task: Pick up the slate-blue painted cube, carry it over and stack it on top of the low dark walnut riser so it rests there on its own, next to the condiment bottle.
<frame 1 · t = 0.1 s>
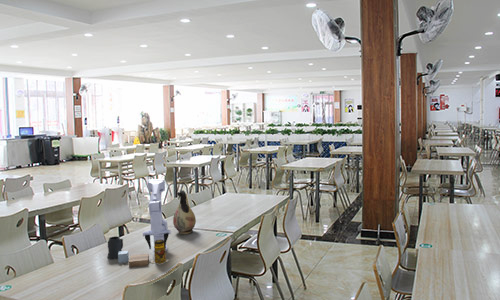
hand: (157, 247, 221), 10 cm above the table, tool pointing down, fingers open, 7 cm apart
walnut riser: (139, 262, 227), on the table
blue cube: (123, 261, 232), on the table
ceramic jug: (185, 232, 282), on the table
condiment: (159, 261, 229), on the table
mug: (116, 256, 241), on the table
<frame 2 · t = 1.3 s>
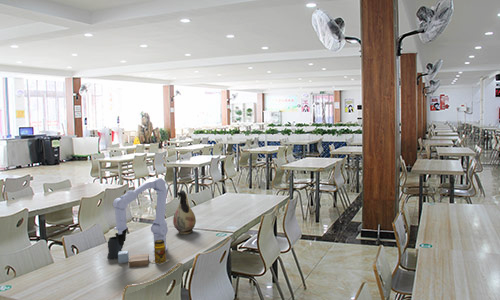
hand: (122, 243, 231), 10 cm above the table, tool pointing down, fingers open, 7 cm apart
nothing on the table moved.
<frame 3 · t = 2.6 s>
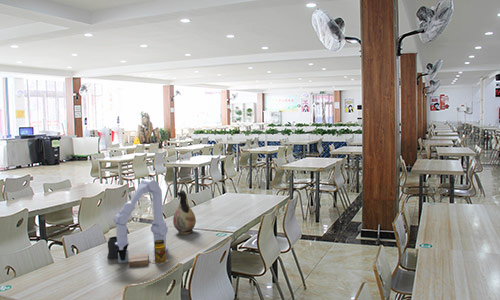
hand: (123, 258, 232), 1 cm above the table, tool pointing down, fingers closed on blue cube, 5 cm apart
blue cube: (123, 260, 232), on the table, touching gripper
everything else where it was.
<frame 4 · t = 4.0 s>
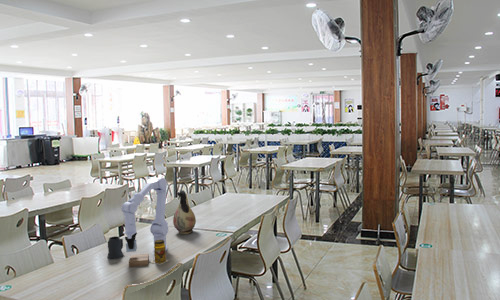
hand: (131, 247, 228), 8 cm above the table, tool pointing down, fingers closed on blue cube, 5 cm apart
blue cube: (131, 250, 229), point 7 cm above the table, touching gripper
everything else where it was.
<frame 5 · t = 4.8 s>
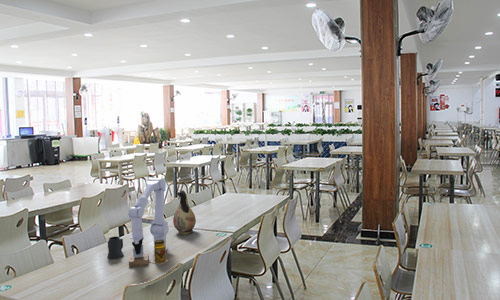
hand: (138, 252, 227), 6 cm above the table, tool pointing down, fingers closed on blue cube, 5 cm apart
blue cube: (138, 255, 227), point 4 cm above the table, touching gripper
everything else where it was.
when the fingers open (6 cm above the table, at t = 5.2 s): blue cube drops 1 cm, resting on walnut riser.
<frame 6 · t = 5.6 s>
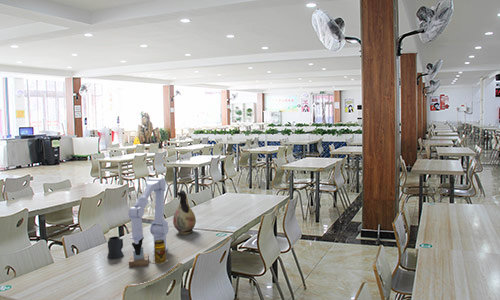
hand: (138, 252, 227), 6 cm above the table, tool pointing down, fingers open, 7 cm apart
blue cube: (138, 257, 227), point 3 cm above the table, touching walnut riser
everything else where it was.
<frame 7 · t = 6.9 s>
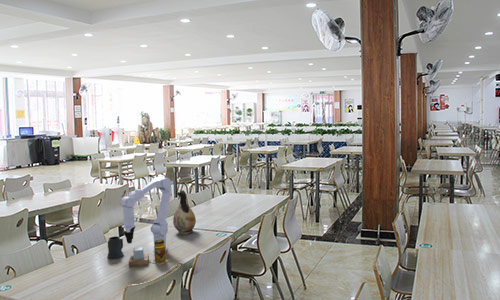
hand: (130, 241, 233), 10 cm above the table, tool pointing down, fingers open, 7 cm apart
nothing on the table moved.
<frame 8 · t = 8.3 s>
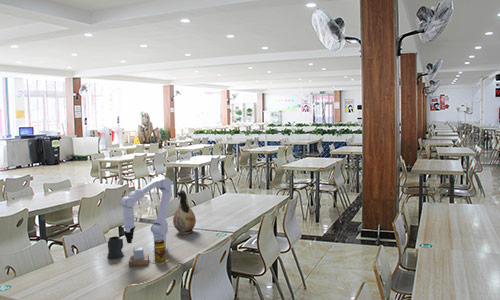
hand: (130, 241, 233), 10 cm above the table, tool pointing down, fingers open, 7 cm apart
nothing on the table moved.
at the end: blue cube inside the target area on the walnut riser (0.1 cm from its centre), point 3.0 cm above the walnut riser's base; blue cube tilted 0°; the gripper is holding nothing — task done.
